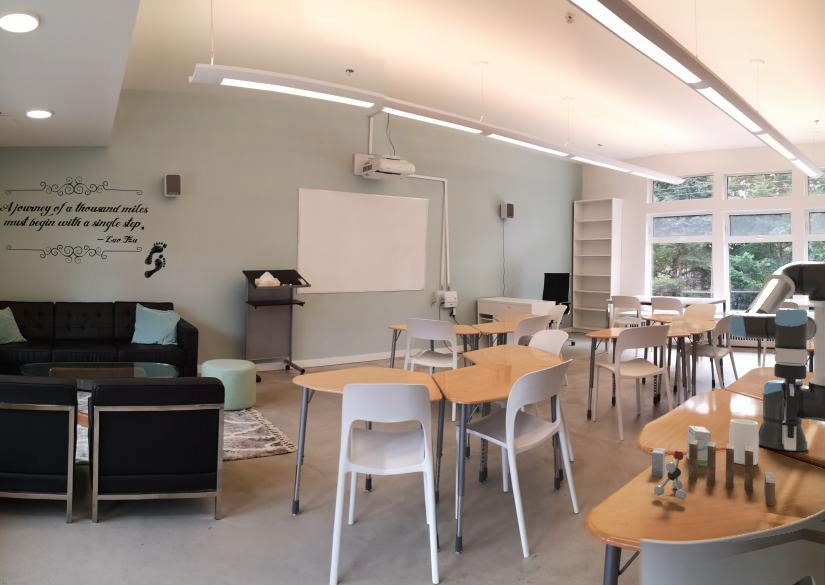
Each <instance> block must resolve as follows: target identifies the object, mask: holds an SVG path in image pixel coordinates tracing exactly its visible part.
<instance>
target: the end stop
mask: <svg viewBox="0 0 825 585" xmlns="http://www.w3.org/2000/svg"><path fill="white" fill-rule="evenodd" d="M665 465H666V448H661V447H656V446H655V447H654V448H653V451H652V452H651V476H653V477H658V478H664V475H665V471H666V468H665Z"/></svg>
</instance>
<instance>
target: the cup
mask: <svg viewBox="0 0 825 585" xmlns="http://www.w3.org/2000/svg"><path fill="white" fill-rule="evenodd" d="M729 422H730V423H729V431H728V432H729V434H728V436H729V437H728V444H732V445H734V464H735V463H736V464H739V465H744V466H745V446H749V447H753V466H756V465H757V464H758V463H759V462H758V461H759V448H760V447H759V446H760V444H759V430H760V429H759V423H758V422H757V421H755V420H750V419H742V418H741V419H740V418H732V419H730V421H729Z"/></svg>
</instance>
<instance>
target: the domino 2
mask: <svg viewBox="0 0 825 585" xmlns="http://www.w3.org/2000/svg"><path fill="white" fill-rule="evenodd" d="M716 454H717V442H716V441H715V442H714V441H710V442H708V454H707V467H706V472H707V473H706V484H707V485H712V486H715V485H716V469H717V468H716V464H717V460H716V459H717V455H716Z"/></svg>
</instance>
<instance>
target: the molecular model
mask: <svg viewBox="0 0 825 585" xmlns="http://www.w3.org/2000/svg"><path fill="white" fill-rule="evenodd" d="M672 456H673V459H675V460H676V461H675V463H674V462H673V461H668V462H667V463H666V462H665V471H667V474H666V476H667V477H666V478H665V480H664V481H663V482H662V483H661V485H660V484H657V485H655V486H654V487H653V492H654V494H655V495H656V496H662V495H664V493H665V488H664V487H665V486H666V485H667V483H669V481H672V482H671V483H672V484H671V485H672V488H673V489H675V497H676V498H677V499H678V500H681V501H682V500H683V501H684V500H685V499H686V498H687V493H686V491H685V490H684V489H682V488H683V486H684V485H683V482H682V481H681V480H680V479H679V477H680V476H681V475H682V470H681V469H680V468H679V463H680V461H682V460H683V459H684V458H685V457H684V453H683V452H682V451H681V450H675V451H674V452H673V454H672Z"/></svg>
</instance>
